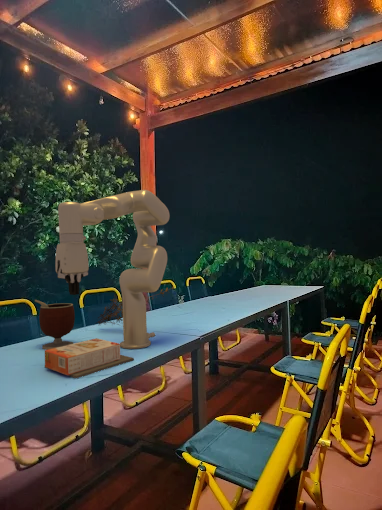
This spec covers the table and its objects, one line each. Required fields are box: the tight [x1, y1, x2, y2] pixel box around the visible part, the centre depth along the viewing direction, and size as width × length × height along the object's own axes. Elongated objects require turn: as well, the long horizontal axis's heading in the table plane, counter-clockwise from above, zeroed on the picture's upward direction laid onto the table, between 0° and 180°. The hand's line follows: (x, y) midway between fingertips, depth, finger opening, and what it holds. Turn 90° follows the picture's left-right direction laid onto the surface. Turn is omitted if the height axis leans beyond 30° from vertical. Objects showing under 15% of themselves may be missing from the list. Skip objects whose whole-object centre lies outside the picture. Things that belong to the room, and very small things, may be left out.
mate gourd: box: [34, 299, 76, 351], centre depth 150 cm, size 16×14×20 cm
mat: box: [44, 354, 135, 379], centre depth 124 cm, size 23×19×1 cm
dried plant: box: [94, 287, 175, 327], centre depth 173 cm, size 30×31×45 cm
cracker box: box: [44, 338, 121, 376], centre depth 122 cm, size 14×6×21 cm
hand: (74, 294), depth 120 cm, fingers closed
